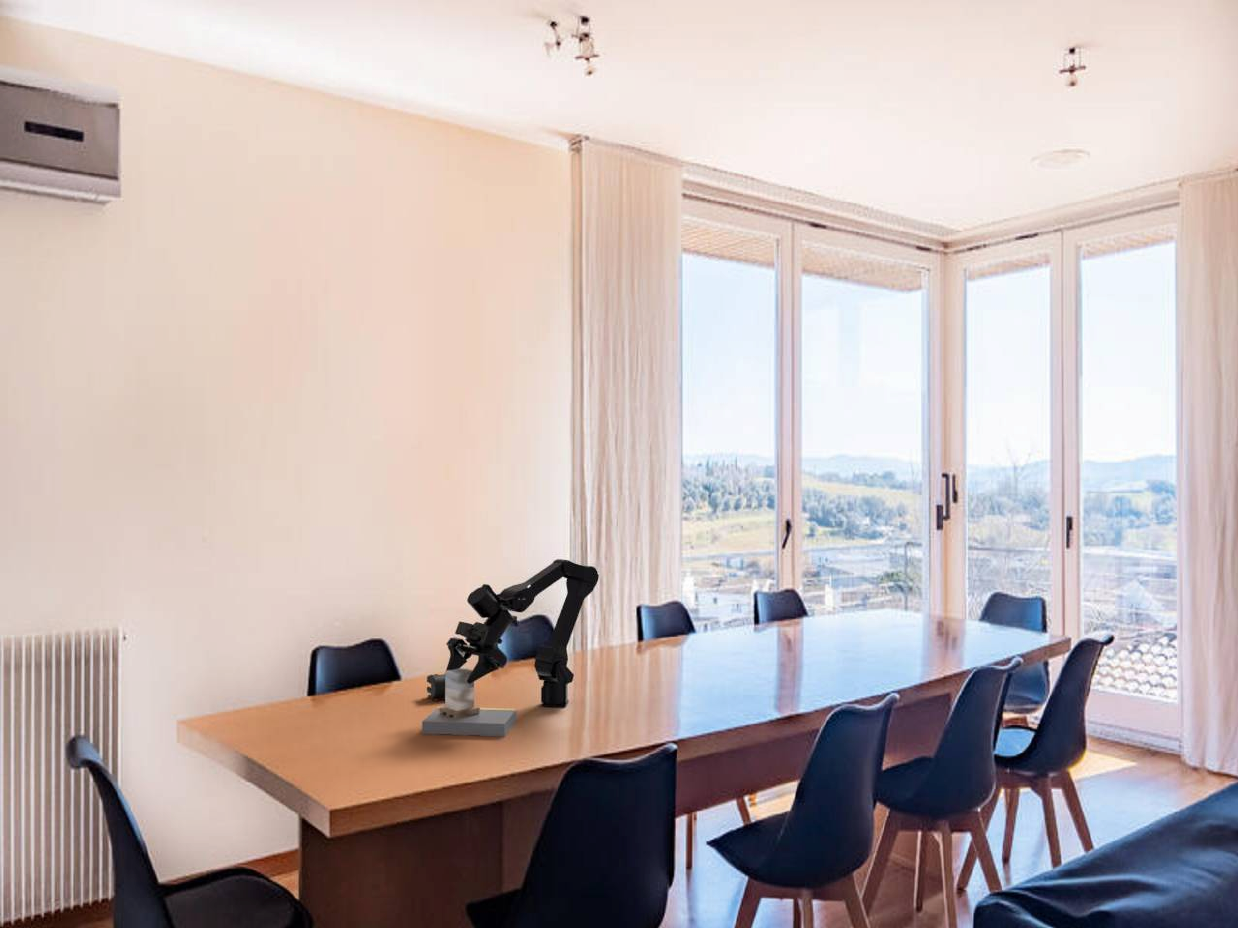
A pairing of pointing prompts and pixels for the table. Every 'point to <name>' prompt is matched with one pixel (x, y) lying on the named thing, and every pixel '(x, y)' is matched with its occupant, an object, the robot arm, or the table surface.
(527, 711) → the table surface
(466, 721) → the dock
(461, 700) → the wrapped pallet load
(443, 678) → the end cap
